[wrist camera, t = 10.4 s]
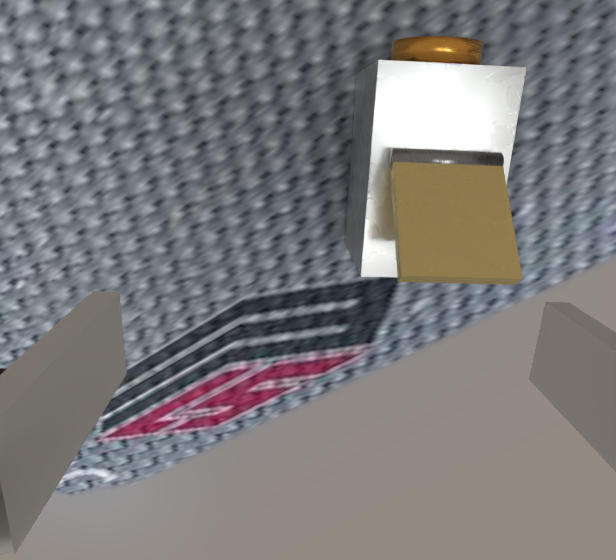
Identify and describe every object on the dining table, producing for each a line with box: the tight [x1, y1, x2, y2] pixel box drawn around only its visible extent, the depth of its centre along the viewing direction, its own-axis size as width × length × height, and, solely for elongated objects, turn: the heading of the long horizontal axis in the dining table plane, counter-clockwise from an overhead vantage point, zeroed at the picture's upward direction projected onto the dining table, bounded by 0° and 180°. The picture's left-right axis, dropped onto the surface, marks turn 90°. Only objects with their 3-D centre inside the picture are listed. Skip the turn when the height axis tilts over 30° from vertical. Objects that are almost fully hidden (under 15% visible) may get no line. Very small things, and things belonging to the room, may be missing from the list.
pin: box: [391, 36, 483, 65], centre depth 30 cm, size 5×12×5 cm, turn 178°
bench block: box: [345, 60, 526, 277], centre depth 31 cm, size 8×12×8 cm, turn 178°
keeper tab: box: [389, 148, 522, 285], centre depth 25 cm, size 6×8×1 cm
